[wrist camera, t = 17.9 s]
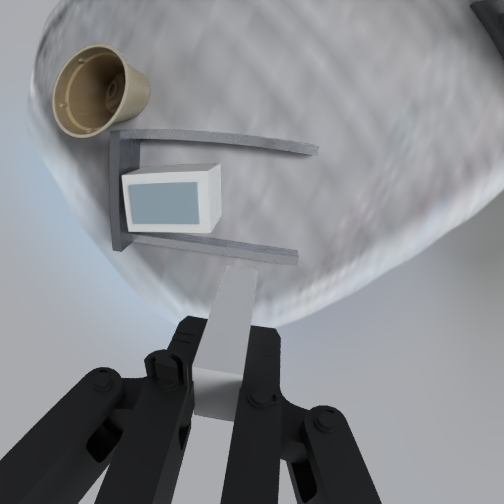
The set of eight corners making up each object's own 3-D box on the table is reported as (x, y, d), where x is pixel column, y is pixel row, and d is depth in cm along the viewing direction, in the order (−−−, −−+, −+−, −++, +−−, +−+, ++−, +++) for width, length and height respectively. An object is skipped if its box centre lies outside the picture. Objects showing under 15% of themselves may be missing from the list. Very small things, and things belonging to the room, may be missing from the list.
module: (146, 166, 31) (119, 176, 26) (220, 163, 31) (206, 171, 25) (150, 214, 34) (126, 233, 28) (221, 214, 33) (209, 234, 27)
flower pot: (165, 51, 25) (130, 32, 18) (164, 128, 29) (128, 130, 21) (97, 67, 26) (53, 59, 18) (97, 137, 30) (53, 145, 22)
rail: (132, 129, 29) (110, 131, 25) (316, 145, 29) (323, 148, 24) (131, 234, 35) (112, 250, 30) (296, 258, 34) (298, 278, 30)
